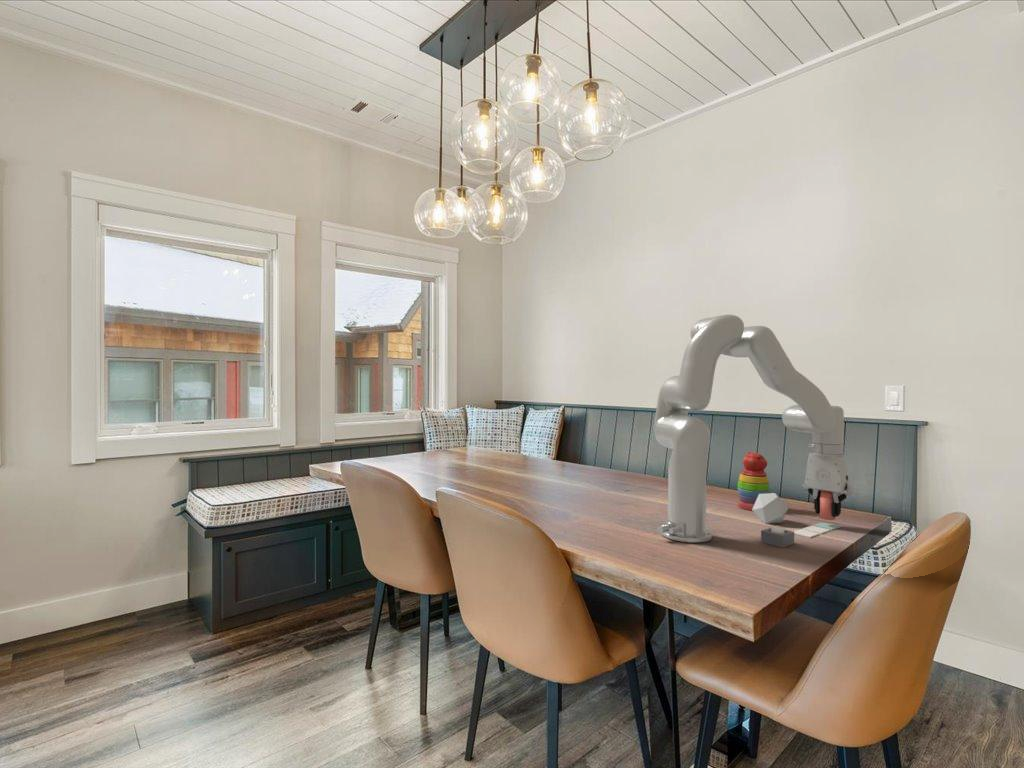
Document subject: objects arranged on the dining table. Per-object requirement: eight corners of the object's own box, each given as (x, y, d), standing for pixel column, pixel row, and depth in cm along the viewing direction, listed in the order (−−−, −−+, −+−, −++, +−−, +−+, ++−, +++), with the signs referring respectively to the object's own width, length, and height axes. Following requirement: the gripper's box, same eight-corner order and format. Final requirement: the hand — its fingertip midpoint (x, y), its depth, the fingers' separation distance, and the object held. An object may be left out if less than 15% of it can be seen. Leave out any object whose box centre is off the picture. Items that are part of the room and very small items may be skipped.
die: (788, 530, 153) (798, 498, 157) (760, 514, 153) (770, 483, 157) (769, 532, 161) (779, 502, 165) (743, 517, 161) (753, 487, 165)
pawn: (831, 520, 151) (831, 491, 151) (817, 517, 154) (817, 488, 154) (837, 518, 153) (837, 489, 153) (823, 515, 156) (823, 487, 156)
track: (810, 537, 143) (810, 536, 143) (791, 533, 147) (791, 532, 147) (830, 530, 150) (830, 529, 150) (811, 526, 154) (811, 525, 154)
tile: (831, 530, 150) (831, 529, 150) (813, 526, 154) (813, 525, 154) (840, 527, 153) (840, 526, 153) (821, 523, 157) (821, 522, 157)
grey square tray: (782, 547, 135) (782, 535, 135) (760, 542, 139) (761, 530, 139) (794, 543, 138) (794, 532, 138) (772, 538, 143) (772, 526, 143)
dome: (780, 543, 136) (780, 528, 136) (768, 540, 139) (768, 525, 139) (787, 541, 138) (787, 526, 138) (774, 538, 141) (774, 523, 141)
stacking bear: (778, 511, 170) (779, 454, 170) (747, 512, 170) (747, 455, 170) (761, 503, 181) (761, 450, 181) (731, 503, 181) (731, 450, 180)
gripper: (791, 447, 158) (791, 510, 158) (854, 454, 144) (853, 523, 145) (804, 445, 162) (804, 506, 163) (866, 451, 149) (865, 518, 149)
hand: (827, 513), depth 154 cm, fingers closed on pawn, 3 cm apart
